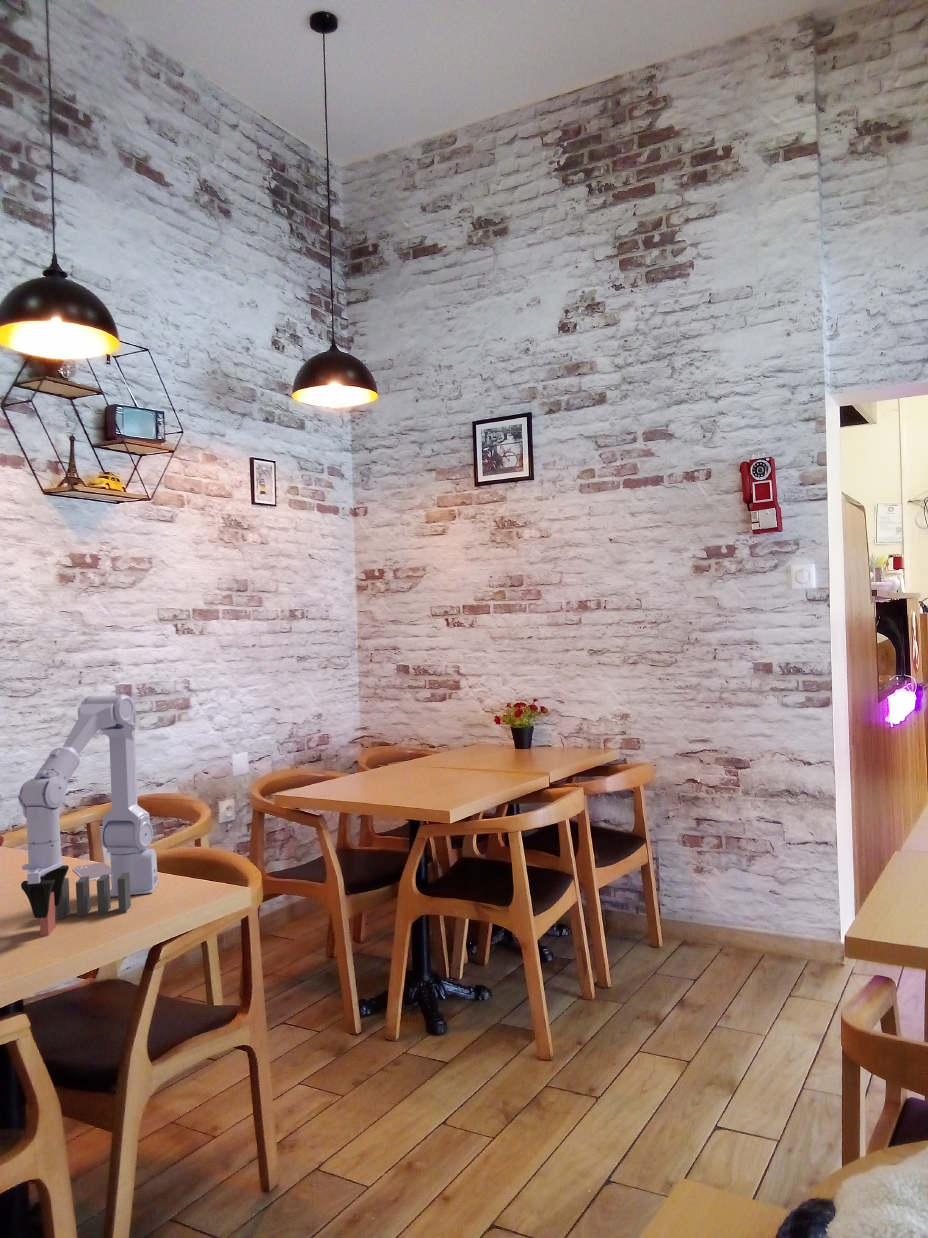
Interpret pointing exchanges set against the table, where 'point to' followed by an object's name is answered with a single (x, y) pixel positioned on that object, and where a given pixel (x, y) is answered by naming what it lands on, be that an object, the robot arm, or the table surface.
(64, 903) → the domino
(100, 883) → the domino
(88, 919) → the table surface
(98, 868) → the mobile phone
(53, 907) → the red domino
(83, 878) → the domino
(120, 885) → the domino
